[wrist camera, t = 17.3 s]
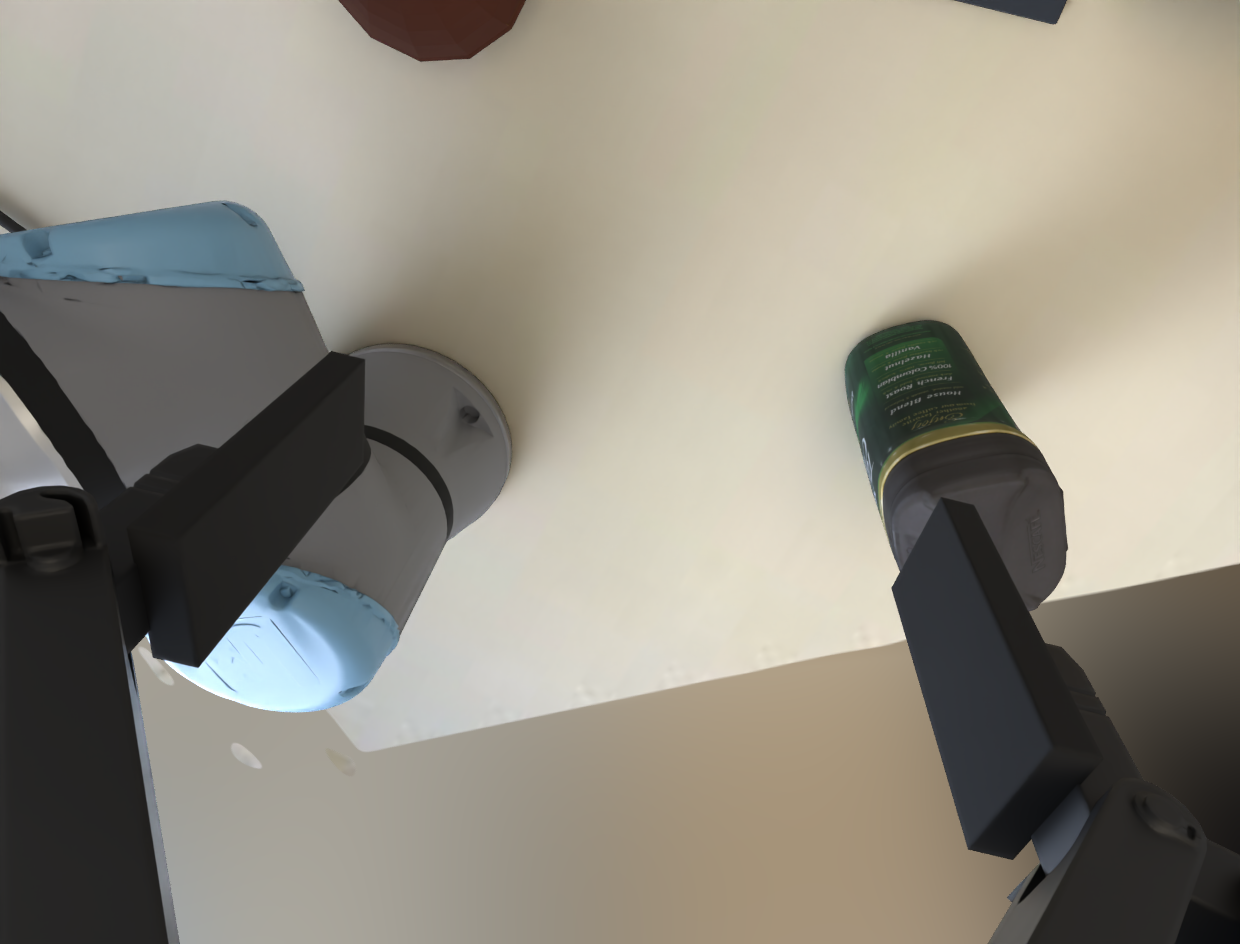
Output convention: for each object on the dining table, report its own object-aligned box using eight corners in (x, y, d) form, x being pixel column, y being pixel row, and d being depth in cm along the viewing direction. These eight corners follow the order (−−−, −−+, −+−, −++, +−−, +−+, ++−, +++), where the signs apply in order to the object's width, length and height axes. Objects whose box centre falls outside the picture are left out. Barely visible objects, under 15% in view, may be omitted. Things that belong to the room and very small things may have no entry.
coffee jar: (829, 339, 48) (879, 496, 33) (957, 302, 46) (1078, 451, 30) (859, 461, 53) (916, 651, 37) (977, 433, 50) (1091, 621, 35)
